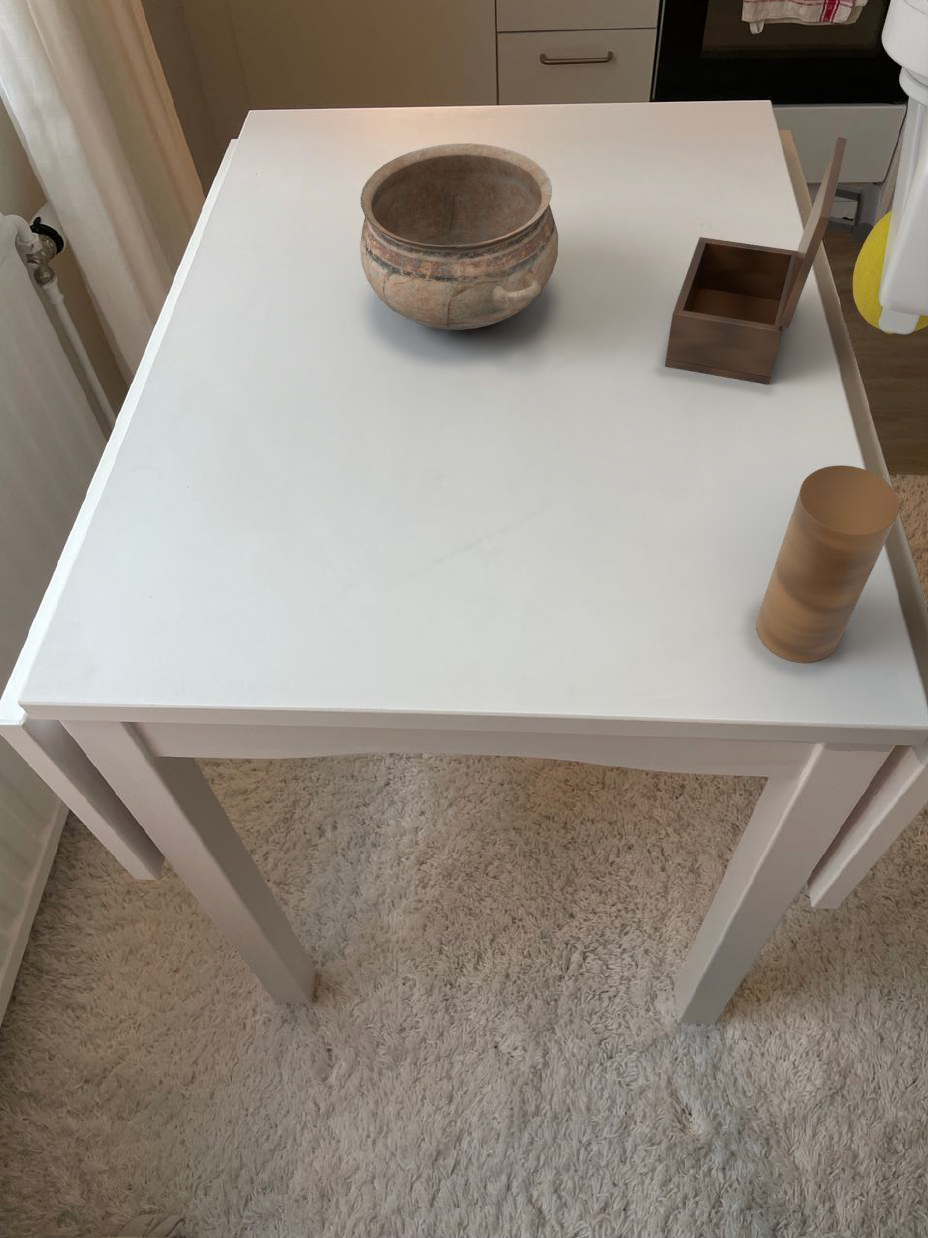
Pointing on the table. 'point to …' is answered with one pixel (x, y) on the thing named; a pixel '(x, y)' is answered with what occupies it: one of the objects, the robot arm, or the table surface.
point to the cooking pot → (458, 234)
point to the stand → (825, 561)
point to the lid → (830, 224)
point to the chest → (731, 310)
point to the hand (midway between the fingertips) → (900, 286)
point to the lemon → (873, 275)
